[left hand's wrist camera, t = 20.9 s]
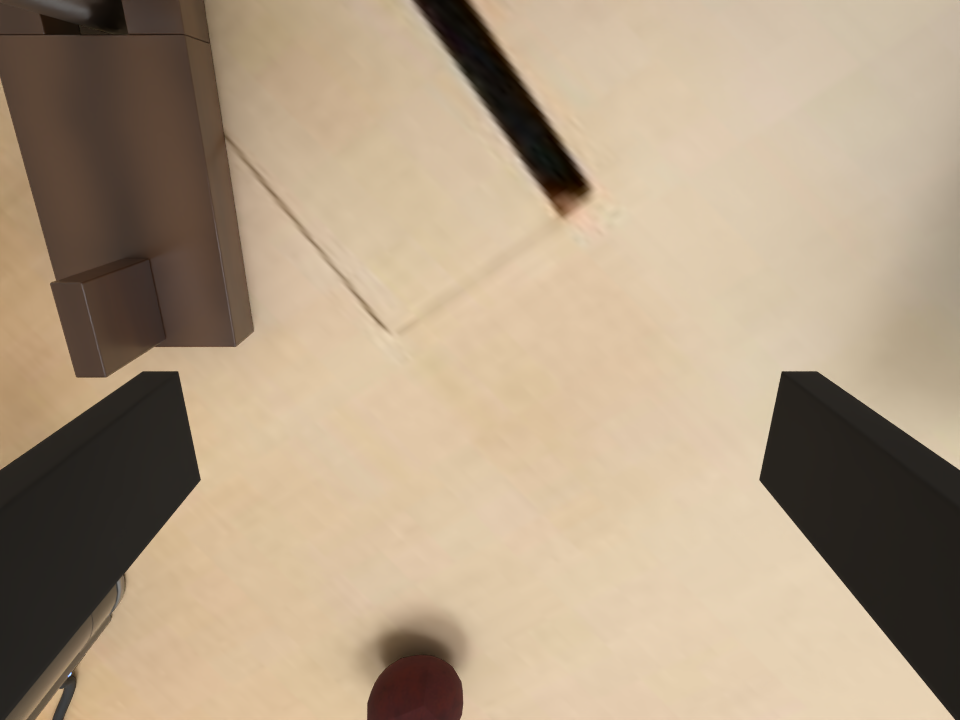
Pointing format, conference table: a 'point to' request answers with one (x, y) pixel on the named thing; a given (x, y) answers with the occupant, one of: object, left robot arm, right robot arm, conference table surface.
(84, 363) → the peg board
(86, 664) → the conference table surface
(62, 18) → the peg
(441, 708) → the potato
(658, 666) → the conference table surface
